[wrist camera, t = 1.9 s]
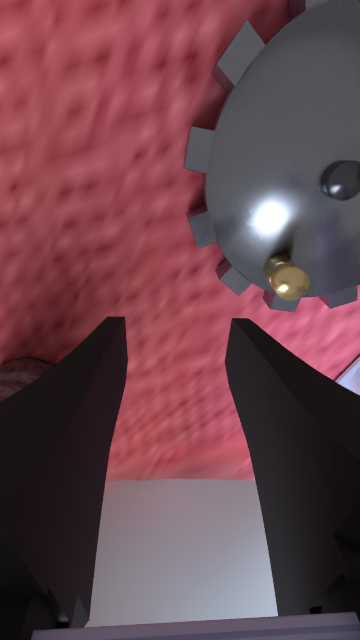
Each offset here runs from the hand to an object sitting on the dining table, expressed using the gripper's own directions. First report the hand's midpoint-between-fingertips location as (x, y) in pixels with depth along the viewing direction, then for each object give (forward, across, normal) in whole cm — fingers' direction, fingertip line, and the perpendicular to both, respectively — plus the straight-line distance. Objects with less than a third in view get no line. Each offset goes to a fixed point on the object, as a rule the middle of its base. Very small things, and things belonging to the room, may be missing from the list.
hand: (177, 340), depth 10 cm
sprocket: (+9, -9, -5) cm, 14 cm away
